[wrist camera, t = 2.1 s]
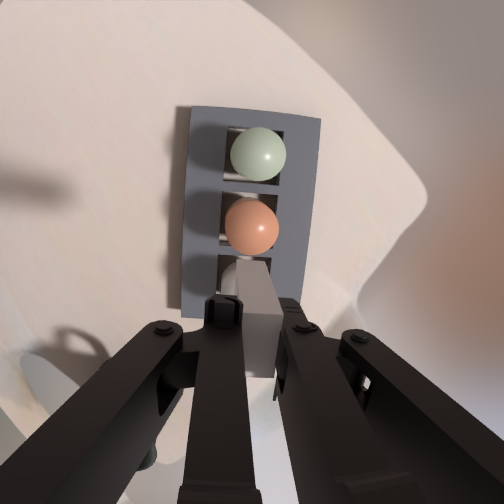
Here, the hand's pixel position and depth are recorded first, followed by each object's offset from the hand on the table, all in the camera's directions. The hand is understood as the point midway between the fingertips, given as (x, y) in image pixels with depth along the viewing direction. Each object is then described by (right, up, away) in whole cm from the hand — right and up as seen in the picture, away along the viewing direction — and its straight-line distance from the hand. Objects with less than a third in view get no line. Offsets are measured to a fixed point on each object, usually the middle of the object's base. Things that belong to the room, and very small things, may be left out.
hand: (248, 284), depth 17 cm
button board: (0, +6, +20) cm, 20 cm away
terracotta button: (0, +5, +18) cm, 18 cm away
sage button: (0, +12, +16) cm, 20 cm away
